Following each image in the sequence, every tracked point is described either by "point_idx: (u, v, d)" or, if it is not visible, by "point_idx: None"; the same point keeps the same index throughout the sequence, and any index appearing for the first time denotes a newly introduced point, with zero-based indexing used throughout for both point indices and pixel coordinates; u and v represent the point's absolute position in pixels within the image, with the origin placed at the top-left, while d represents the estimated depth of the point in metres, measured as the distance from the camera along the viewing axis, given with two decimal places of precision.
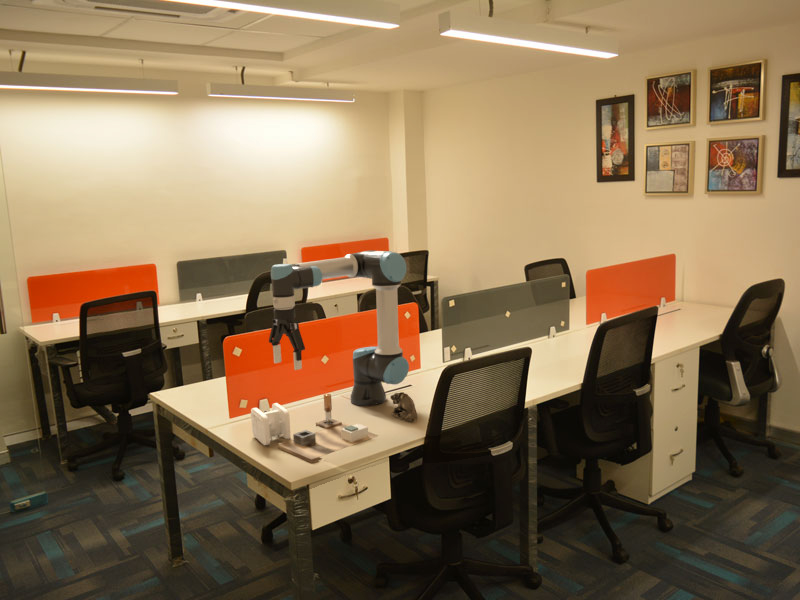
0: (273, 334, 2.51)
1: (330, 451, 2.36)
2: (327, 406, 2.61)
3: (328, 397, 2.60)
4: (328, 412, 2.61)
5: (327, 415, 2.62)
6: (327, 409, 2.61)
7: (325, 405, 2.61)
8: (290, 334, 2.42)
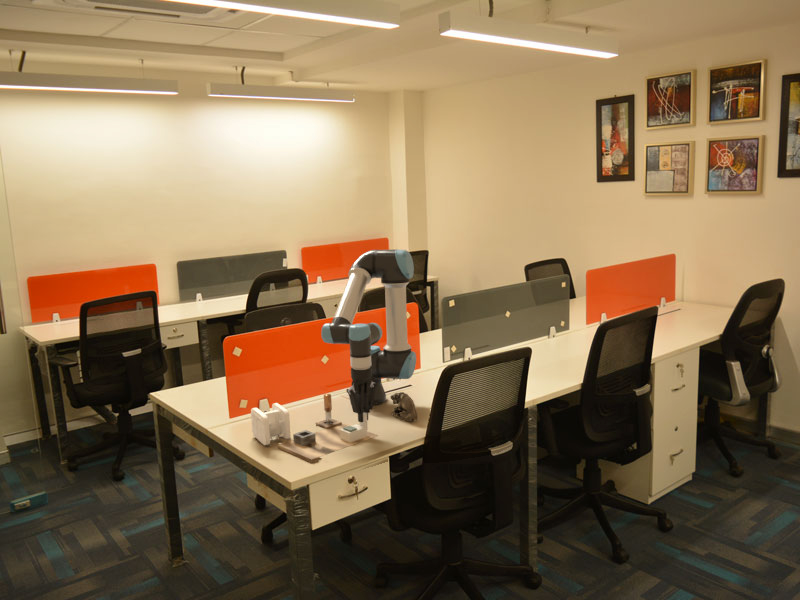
0: (368, 397, 2.52)
1: (330, 451, 2.36)
2: (327, 406, 2.61)
3: (328, 397, 2.60)
4: (328, 412, 2.61)
5: (327, 415, 2.62)
6: (327, 409, 2.61)
7: (325, 405, 2.61)
8: (357, 395, 2.48)
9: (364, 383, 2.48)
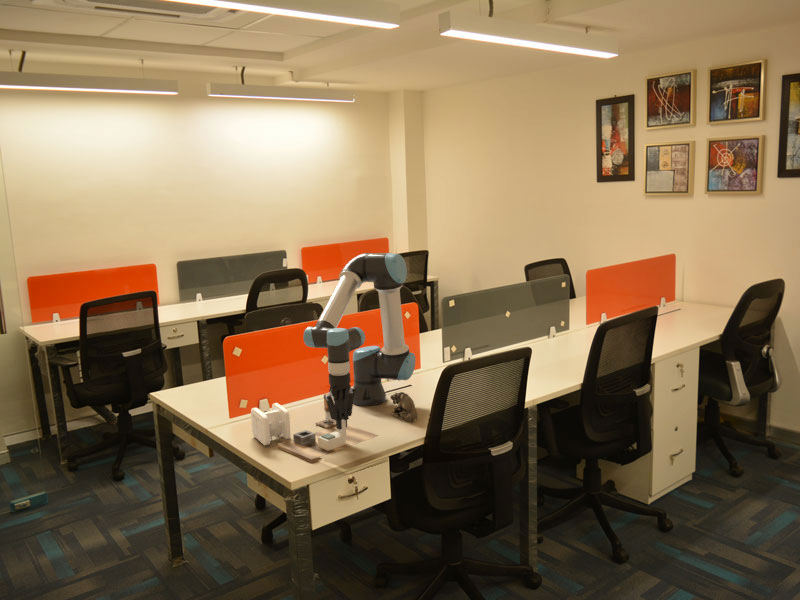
0: (347, 404, 2.46)
1: (330, 451, 2.36)
2: (327, 406, 2.61)
3: None
4: (328, 412, 2.61)
5: (327, 415, 2.62)
6: (327, 409, 2.61)
7: (325, 405, 2.61)
8: (335, 401, 2.42)
9: (342, 389, 2.41)
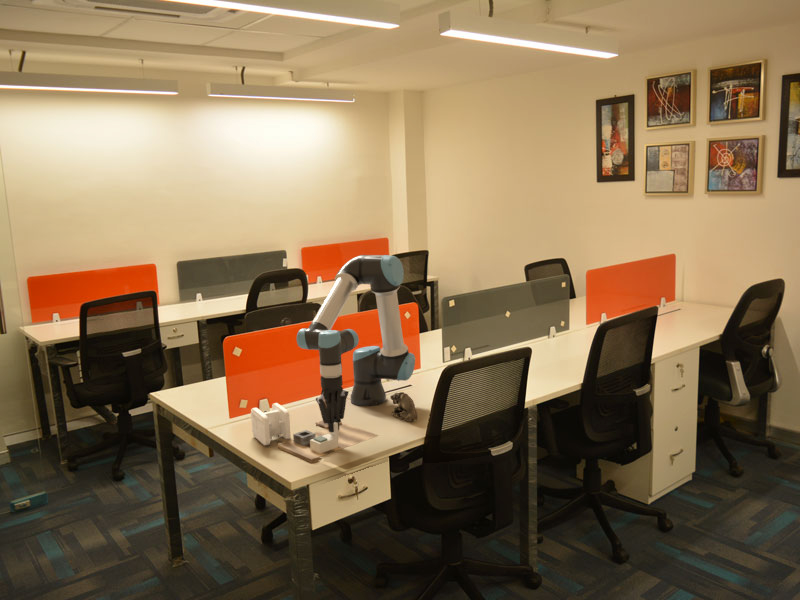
0: (339, 406, 2.43)
1: (330, 451, 2.36)
2: None
3: None
4: None
5: None
6: None
7: None
8: (327, 404, 2.39)
9: (334, 392, 2.39)
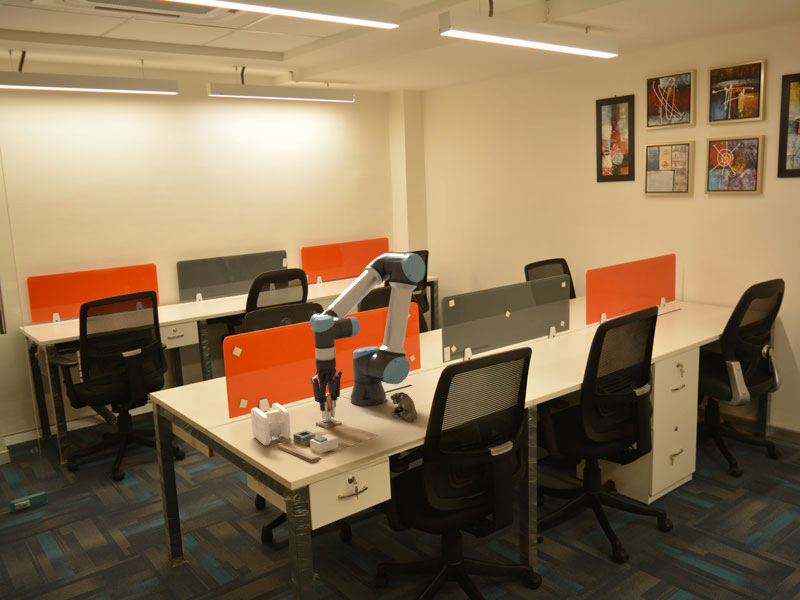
0: (334, 386, 2.64)
1: (330, 451, 2.36)
2: (327, 406, 2.61)
3: (328, 397, 2.60)
4: (328, 412, 2.61)
5: None
6: (327, 409, 2.61)
7: None
8: (320, 384, 2.60)
9: (328, 373, 2.59)
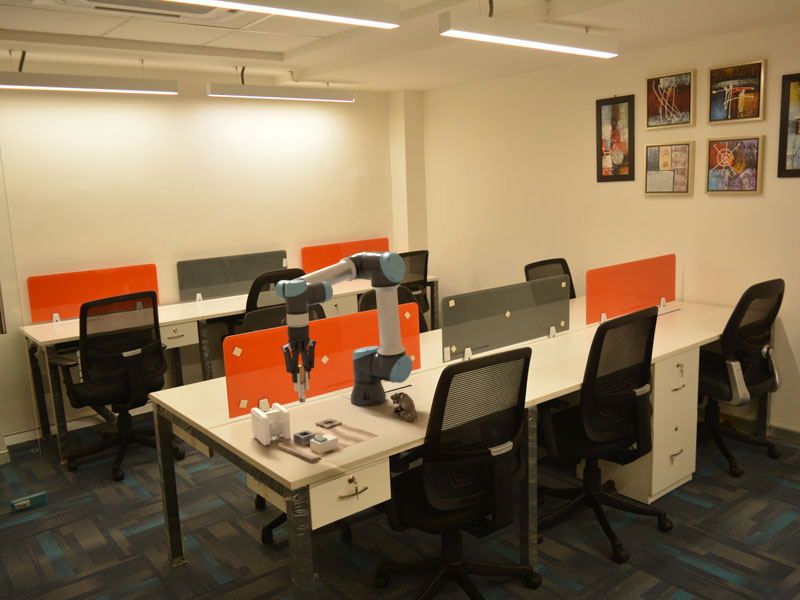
0: (308, 356, 2.44)
1: (330, 451, 2.36)
2: (300, 378, 2.41)
3: (301, 368, 2.40)
4: (301, 384, 2.42)
5: None
6: (300, 381, 2.41)
7: None
8: (292, 354, 2.40)
9: (301, 342, 2.40)
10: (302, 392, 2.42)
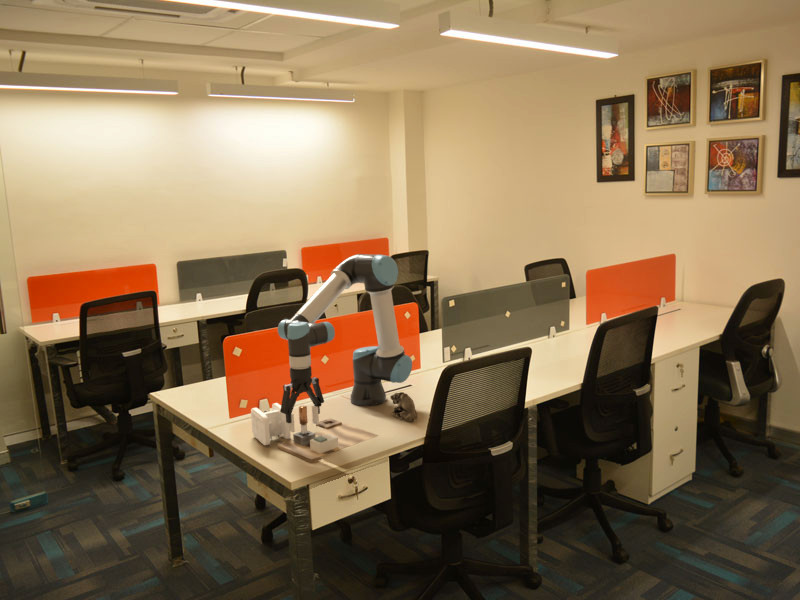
0: (316, 393, 2.48)
1: (330, 451, 2.36)
2: (302, 419, 2.43)
3: (303, 409, 2.43)
4: (303, 425, 2.44)
5: (302, 428, 2.44)
6: (302, 422, 2.44)
7: (300, 418, 2.44)
8: (292, 394, 2.41)
9: (303, 384, 2.42)
10: (304, 433, 2.45)
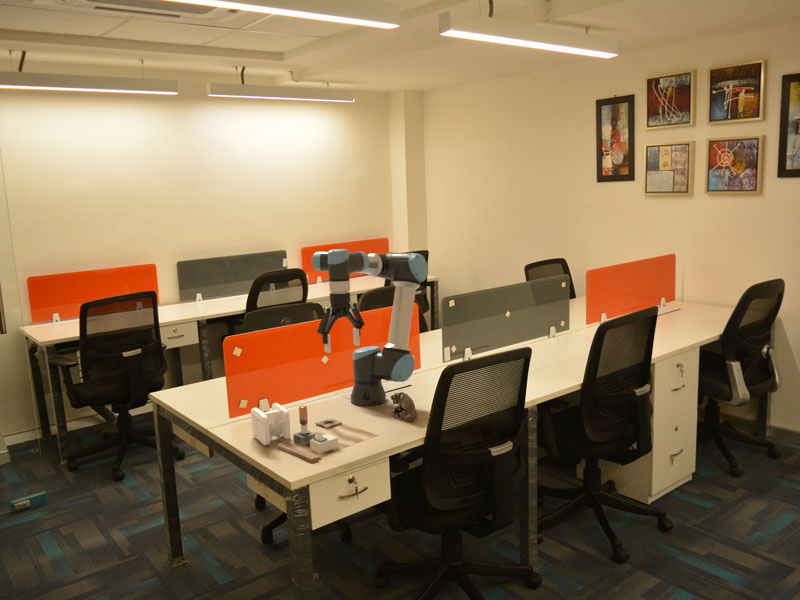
0: (355, 317, 2.58)
1: (330, 451, 2.36)
2: (303, 419, 2.43)
3: (304, 409, 2.43)
4: (304, 425, 2.44)
5: (302, 429, 2.44)
6: (302, 422, 2.44)
7: (300, 418, 2.44)
8: (330, 317, 2.50)
9: (343, 310, 2.51)
10: (305, 433, 2.45)
